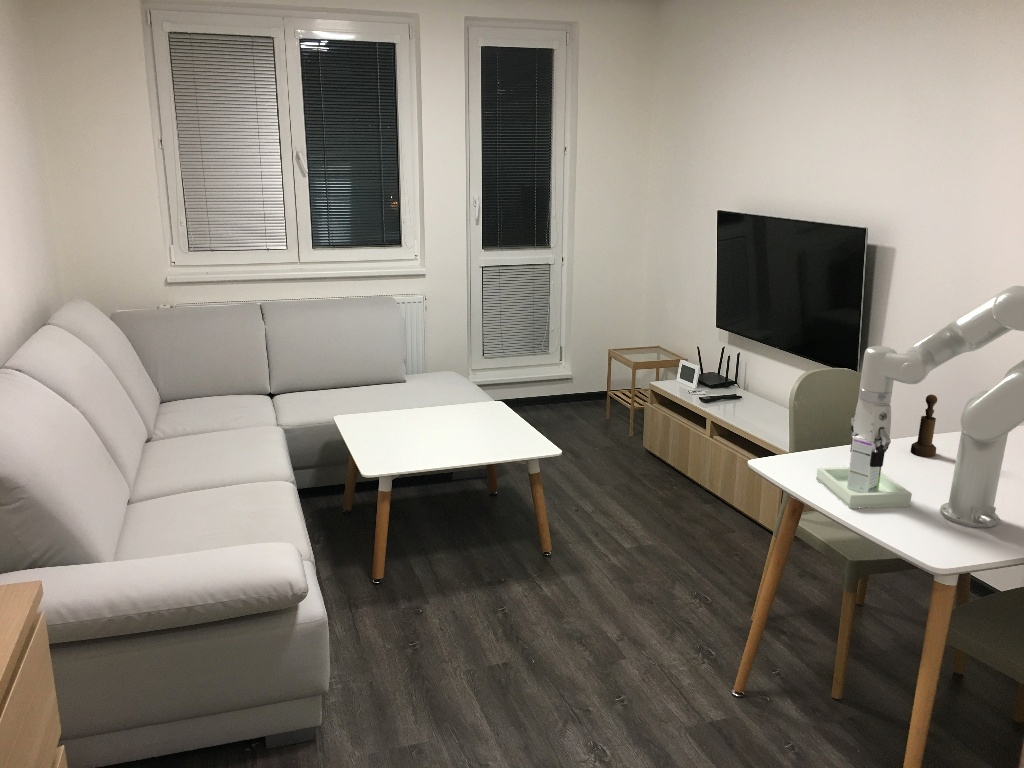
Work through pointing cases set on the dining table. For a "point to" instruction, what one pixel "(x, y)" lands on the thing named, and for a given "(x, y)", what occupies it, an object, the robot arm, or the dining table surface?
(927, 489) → the dining table surface
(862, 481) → the syrup box
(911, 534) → the dining table surface
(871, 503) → the tray
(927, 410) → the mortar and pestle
